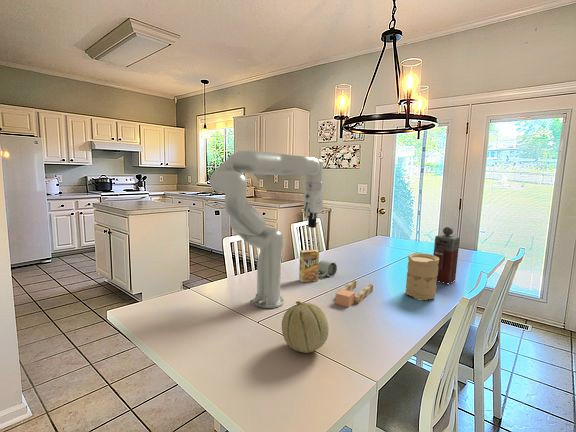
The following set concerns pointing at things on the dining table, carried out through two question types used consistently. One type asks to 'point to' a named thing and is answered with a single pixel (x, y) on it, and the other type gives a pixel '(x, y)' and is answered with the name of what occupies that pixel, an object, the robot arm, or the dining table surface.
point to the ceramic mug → (327, 268)
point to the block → (345, 298)
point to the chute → (362, 294)
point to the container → (422, 276)
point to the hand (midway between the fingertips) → (312, 227)
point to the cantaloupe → (305, 327)
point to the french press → (446, 255)
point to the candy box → (309, 265)
